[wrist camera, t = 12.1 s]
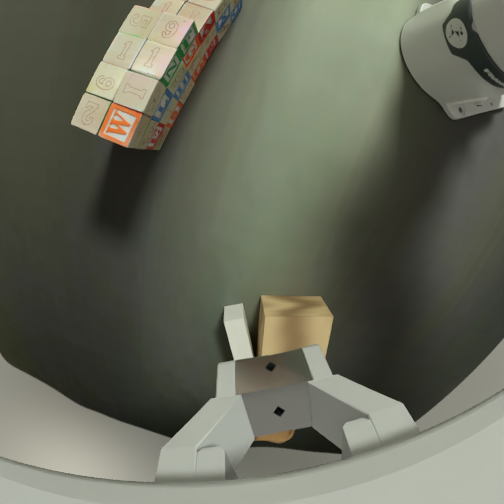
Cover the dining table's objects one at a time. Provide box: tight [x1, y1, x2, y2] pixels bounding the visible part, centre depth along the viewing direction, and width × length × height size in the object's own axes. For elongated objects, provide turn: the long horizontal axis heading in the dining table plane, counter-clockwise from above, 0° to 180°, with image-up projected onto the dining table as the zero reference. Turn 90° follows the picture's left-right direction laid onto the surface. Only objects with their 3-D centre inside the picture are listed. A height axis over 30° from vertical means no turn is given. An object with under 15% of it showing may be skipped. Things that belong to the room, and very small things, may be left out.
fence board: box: [224, 303, 255, 361], centre depth 40 cm, size 2×13×4 cm, turn 11°
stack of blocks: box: [71, 0, 242, 150], centre depth 25 cm, size 21×6×12 cm, turn 153°
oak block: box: [256, 295, 333, 357], centre depth 39 cm, size 8×10×6 cm
